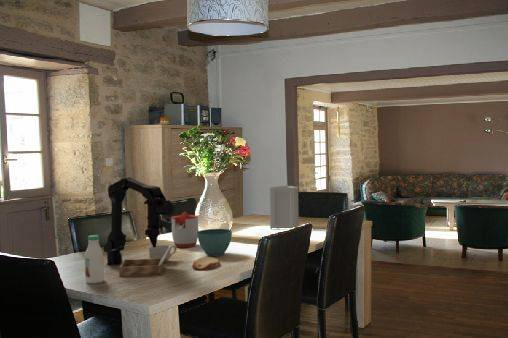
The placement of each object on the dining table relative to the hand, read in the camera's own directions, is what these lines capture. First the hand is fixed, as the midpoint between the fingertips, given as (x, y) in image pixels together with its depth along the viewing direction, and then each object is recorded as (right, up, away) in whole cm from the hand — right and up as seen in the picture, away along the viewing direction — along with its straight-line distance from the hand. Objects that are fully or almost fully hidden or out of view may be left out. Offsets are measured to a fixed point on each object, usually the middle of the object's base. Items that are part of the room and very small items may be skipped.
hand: (154, 247), depth 251 cm
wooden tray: (-6, -11, 0) cm, 12 cm away
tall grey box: (+68, -4, +116) cm, 135 cm away
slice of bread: (+23, -11, +9) cm, 27 cm away
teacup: (+1, -10, +20) cm, 22 cm away
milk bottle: (-23, -13, -17) cm, 31 cm away
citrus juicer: (+7, -8, +58) cm, 59 cm away
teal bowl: (+26, -9, +33) cm, 43 cm away
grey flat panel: (+5, -3, 0) cm, 6 cm away
